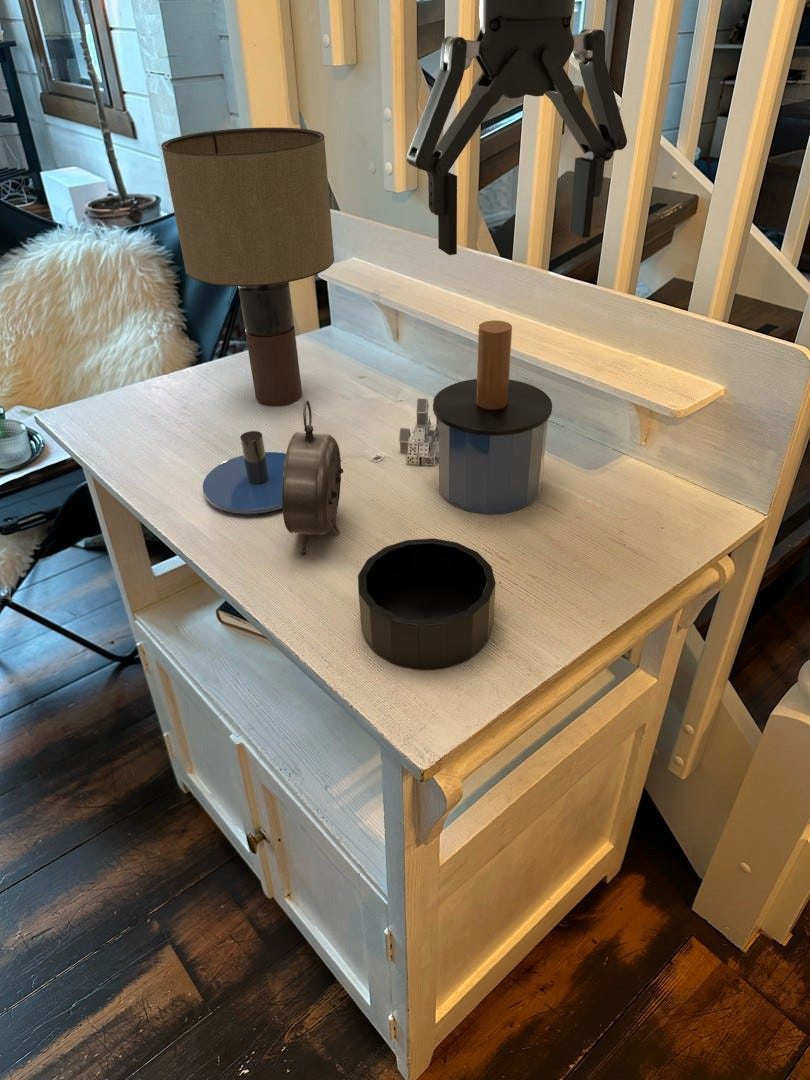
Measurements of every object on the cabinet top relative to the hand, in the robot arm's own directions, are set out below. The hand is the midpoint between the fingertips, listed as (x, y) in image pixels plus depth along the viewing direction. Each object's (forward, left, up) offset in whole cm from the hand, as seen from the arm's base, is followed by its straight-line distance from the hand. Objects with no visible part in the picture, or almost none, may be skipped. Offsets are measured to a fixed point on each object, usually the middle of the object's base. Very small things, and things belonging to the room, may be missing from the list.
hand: (514, 243), depth 71 cm
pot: (+4, -3, -30) cm, 31 cm away
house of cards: (+18, -4, -30) cm, 35 cm away
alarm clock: (+13, +17, -30) cm, 37 cm away
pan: (-6, +21, -30) cm, 37 cm away
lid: (+4, -3, -20) cm, 20 cm away
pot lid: (+26, +15, -29) cm, 42 cm away
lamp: (+44, -4, -30) cm, 54 cm away
